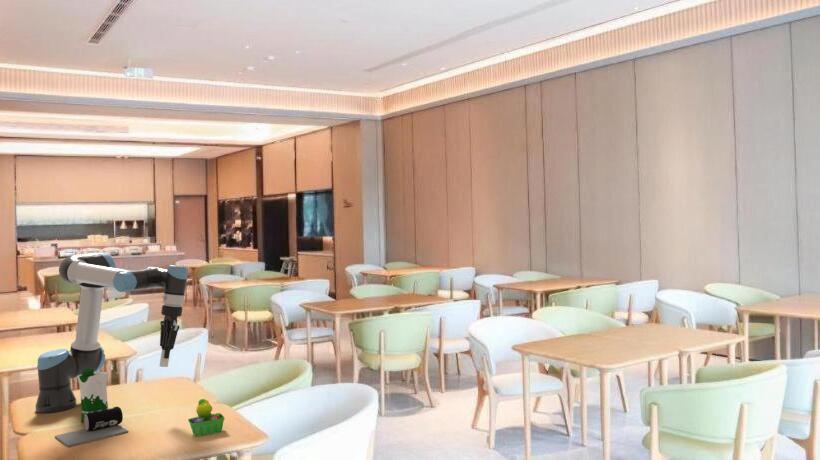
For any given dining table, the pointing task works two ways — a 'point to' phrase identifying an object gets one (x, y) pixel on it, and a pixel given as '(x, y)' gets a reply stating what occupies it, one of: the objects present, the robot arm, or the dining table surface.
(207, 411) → the fruit basket
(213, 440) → the dining table surface
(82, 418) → the milk carton
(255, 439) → the dining table surface
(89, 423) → the beverage can
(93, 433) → the mat
